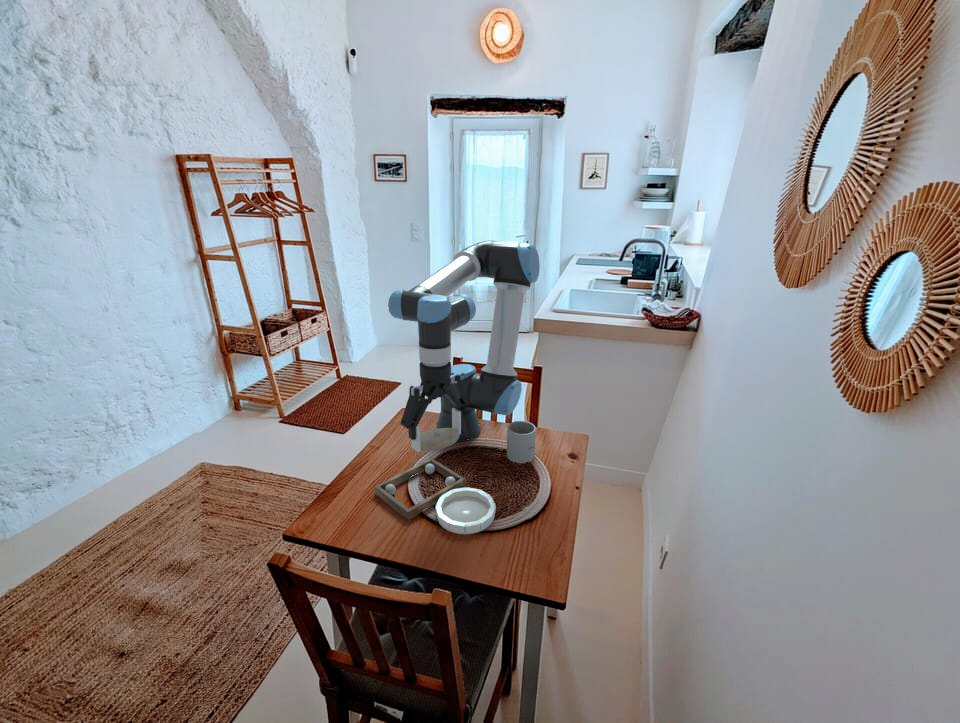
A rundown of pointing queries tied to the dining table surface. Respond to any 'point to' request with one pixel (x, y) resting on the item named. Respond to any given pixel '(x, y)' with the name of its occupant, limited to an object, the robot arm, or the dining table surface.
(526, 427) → the mug
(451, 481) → the pebble
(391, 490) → the pebble
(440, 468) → the parts frame
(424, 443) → the stone
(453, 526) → the bowl
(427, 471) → the pale glossy ball
